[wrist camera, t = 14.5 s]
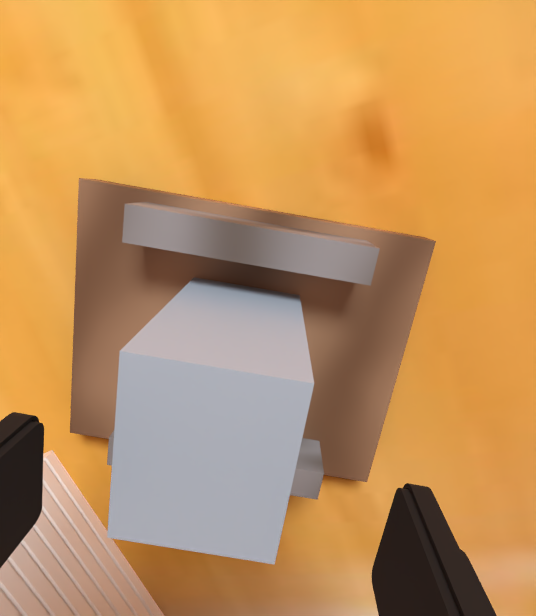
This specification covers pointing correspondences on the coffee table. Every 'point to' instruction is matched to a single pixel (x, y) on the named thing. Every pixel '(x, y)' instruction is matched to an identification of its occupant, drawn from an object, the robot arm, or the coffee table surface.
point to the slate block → (211, 422)
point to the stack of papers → (70, 561)
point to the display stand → (259, 274)
